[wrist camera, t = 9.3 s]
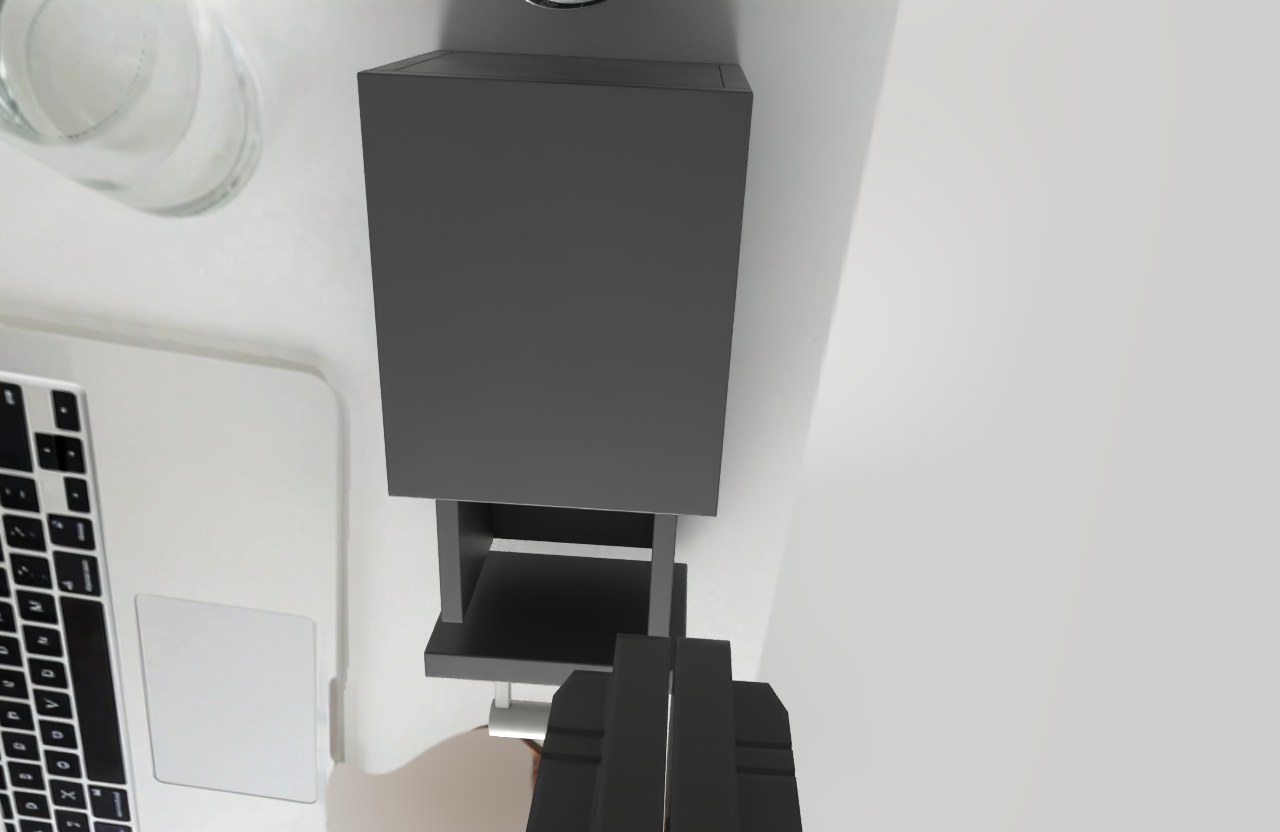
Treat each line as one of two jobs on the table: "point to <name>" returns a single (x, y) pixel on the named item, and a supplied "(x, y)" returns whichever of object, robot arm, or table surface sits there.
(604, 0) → the watch
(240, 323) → the table surface
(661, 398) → the grey square sleeve
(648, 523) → the drawer
